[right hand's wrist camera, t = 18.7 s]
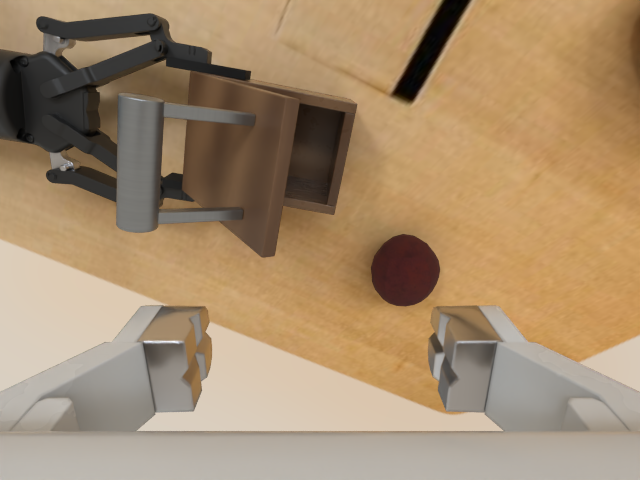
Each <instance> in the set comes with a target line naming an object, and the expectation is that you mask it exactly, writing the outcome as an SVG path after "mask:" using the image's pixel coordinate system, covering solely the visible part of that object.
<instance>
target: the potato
mask: <svg viewBox="0 0 640 480" xmlns="http://www.w3.org/2000/svg"><path fill="white" fill-rule="evenodd" d="M371 272H372V282H373V285H374V287H375V290H376V291H377V292H378V293H379V295H380V296H381V297H382V298H383V299H384V300H385V301H387V302H388V303H390V304H393V305H396V306H410V305H415V304H417V303H419V302H421V301H423V300H424V299H425V298H426V297H428V295H429V294H430V293H431V292H432V290H433V289H434V287H435V285H436V283H437V281H438V278H439V273H440V267H439V261H438V259H437V257H436V255H435V253H434V252H433V251H432V250H431V248H430V247H429V246H428V244H427V243H425V242H423V241H422V240H420V239H418V238H417V237H415V236H412V235H406V234H402V235H398V236H394V237H392V238H391V239H390V240H388V241H387V242H385V243H384V244H383V245H382V247H381V248H380V249H379V251H378V252H377V253H376V255H375V256H374V259H373V263H372V266H371Z"/></svg>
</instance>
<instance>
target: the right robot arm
mask: <svg viewBox="0 0 640 480" xmlns="http://www.w3.org/2000/svg"><path fill="white" fill-rule="evenodd" d="M208 324H209V316H208V310H207V308H206V307H205V306H163V305H150V306H141V307H140V308H139V309H138V310H137V312H136V313H135V314H134V315H133V316H132V318H131V319H130V320H129V321H128V323H127V324H126V325H125V326H124V328H123V329H122V330H121V331H120V332H119V334H118V335H117V336H116V337H115V339H114V340H113V341H112V342H104V343H102V344H100V345H98V346H96V347H94V348H92V349H90V350H88V351H85V352H83V353H81V354H79V355H77V356H75V357H73V358H71V359H68V360H66V361H64V362H62V363H60V364H58V365H56V366H54V367H52V368H49V369H47V370H45V371H43V372H41V373H39V374H37V375H35V376H33V377H31V378H28V379H26V380H24V381H22V382H20V383H18V384H16V385H14V386H11V387H9V388H7V389H5V390H3V391H1V392H0V480H640V392H639V391H637V390H635V389H632V388H630V387H628V386H626V385H624V384H622V383H620V382H618V381H616V380H613V379H611V378H609V377H607V376H605V375H603V374H601V373H599V372H597V371H595V370H592V369H590V368H588V367H586V366H584V365H582V364H580V363H578V362H576V361H574V360H571V359H569V358H567V357H565V356H563V355H561V354H559V353H557V352H555V351H552V350H550V349H548V348H546V347H544V346H542V345H540V344H538V343H536V342H528V341H527V340H526V339H525V337H524V336H523V335H522V334H521V333H520V331H519V330H518V329H517V328H516V326H515V325H514V324H513V323H512V322H511V320H510V319H509V318H508V317H507V315H506V314H505V313H504V312H503V310H502V309H501V308H500V307H499V306H496V305H485V306H440V307H434V308H433V311H432V315H431V325H432V327H433V329H434V331H435V332H434V333H433V334H432V335H431V337H430V338H429V343H428V361H429V366H430V370H431V373H432V376H433V378H435V379H436V380H438V381H439V386H438V392H439V394H440V397H441V399H442V402H443V404H444V407H445V409H446V411H452V412H485V415H486V416H487V417H489V418H490V419H491V420H492V421H493V422H494V423H495V424H497V425H498V426H499V427H500V428H501V429H502V430H504V431H137V430H138V429H139V428H140V427H141V426H142V425H144V424H145V423H146V422H147V421H148V420H149V419H150V418H152V417H153V416H154V415H155V412H186V411H194V409H195V407H196V404H197V402H198V399H199V397H200V394H201V391H202V386H201V381H202V380H204V379H205V378H207V376H208V373H209V370H210V366H211V360H212V342H211V338H210V337H209V336H208V334H207V333H206V332H205V331H206V329H207V327H208Z"/></svg>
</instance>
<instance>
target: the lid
mask: <svg viewBox="0 0 640 480" xmlns="http://www.w3.org/2000/svg"><path fill="white" fill-rule="evenodd" d="M299 103H300V100H299V99H296V98H292V97H289V96H285V95H281V94H278V93H274V92H270V91H266V90H263V89H259V88H255V87H252V86H248V85H244V84H241V83H237V82H233V81H229V80H226V79H222V78H218V77H215V76H211V75H207V74H204V73H199V72H193V71H191V72H190V83H189V97H188V105H184V104H176V103H168V102H164V100H162V99H160V98H156V97H151V96H146V95H140V94H132V93H119V94H118V137H117V210H116V225H117V227H118V228H120V229H122V230H124V231H128V232H136V233H143V232H150V231H153V230H155V229H157V227H158V224H169V223H188V222H207V221H219V222H221V223H222V224H223V225H224V226H225V227H227V228H228V229H229V230H230V231H231V232H232V233H234V234H235V235H236V236H237V237H238V238H240V239H241V240H242V241H243V242H244V243H245V244H247V245H248V246H249V247H250V248H251V249H252V250H254V251H255V252H256V253H257V254H258V255H260V256H261V257H271V256H275V251H276V244H277V238H278V232H279V226H280V220H281V214H282V207H283V201H284V195H285V189H286V183H287V177H288V170H289V164H290V158H291V152H292V146H293V140H294V133H295V127H296V121H297V115H298V109H299ZM164 117H168V118H177V119H187V125H186V139H185V154H184V168H183V182H182V190H183V191H184V192H185V193H186V194H188V195H189V196H190V197H191V198H192V199H193V200H195V201H196V202H197V203H198V204H199V205H201V206H202V207H203V208H185V209H159V201H160V182H161V162H162V143H163V124H164Z"/></svg>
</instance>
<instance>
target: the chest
mask: <svg viewBox="0 0 640 480" xmlns="http://www.w3.org/2000/svg"><path fill="white" fill-rule="evenodd" d="M199 73H202V72H199ZM204 74H207V75H211V76H215V77H218V78H222V79H226V80H229V81H233V82H237V83H241V84H244V85H248V86H252V87H255V88H259V89H263V90H266V91H270V92H274V93H278V94H281V95H285V96H289V97H292V98H296V99H299V100H300V103H299V109H298V115H297V121H296V127H295V133H294V140H293V146H292V152H291V158H290V164H289V170H288V177H287V183H286V189H285V195H284V201H283V206H288V207H293V208H299V209H304V210H310V211H315V212H320V213H326V214H331V215H334V213H335V208H336V203H337V199H338V194H339V189H340V184H341V179H342V175H343V170H344V165H345V160H346V156H347V151H348V146H349V141H350V137H351V132H352V127H353V122H354V118H355V113H356V108H357V104H356V103H355V102H353V101H352V100H351V99H347V98H342V97H337V96H332V95H327V94H322V93H317V92H312V91H307V90H302V89H297V88H292V87H287V86H282V85H277V84H272V83H267V82H262V81H257V80H252V79H250V80H242V79H236V78H230V77H225V76H219V75H214V74H209V73H204Z"/></svg>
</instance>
